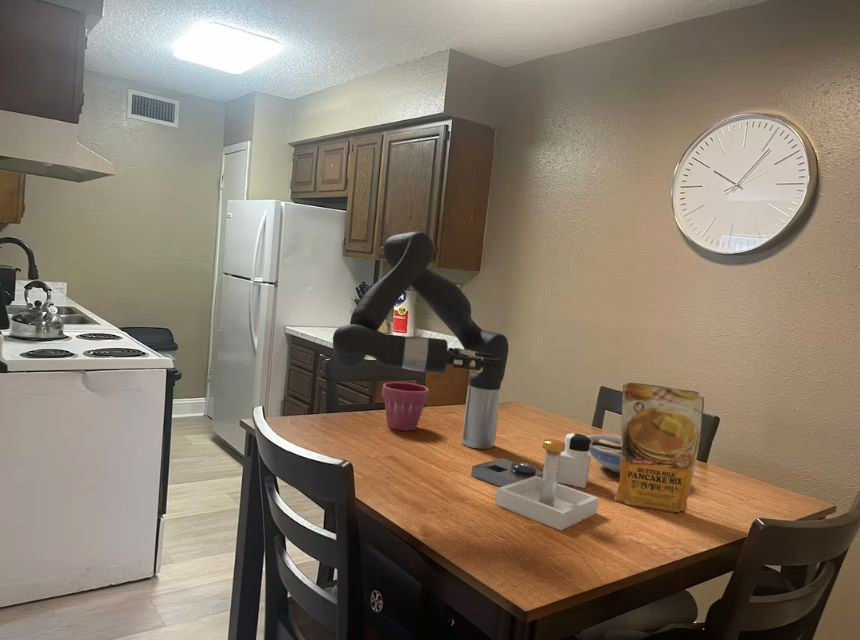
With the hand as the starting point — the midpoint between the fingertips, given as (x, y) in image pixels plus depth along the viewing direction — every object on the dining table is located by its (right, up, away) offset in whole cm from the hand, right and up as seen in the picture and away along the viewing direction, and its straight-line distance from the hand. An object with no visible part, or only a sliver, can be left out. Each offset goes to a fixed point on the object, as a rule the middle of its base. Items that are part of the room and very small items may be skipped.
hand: (496, 362), depth 136 cm
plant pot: (-24, -24, +54) cm, 63 cm away
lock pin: (+10, -31, -3) cm, 33 cm away
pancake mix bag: (+37, -34, +8) cm, 51 cm away
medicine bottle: (+21, -32, +19) cm, 42 cm away
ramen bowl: (+38, -33, +33) cm, 60 cm away
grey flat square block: (+4, -30, +15) cm, 33 cm away
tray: (+10, -32, -3) cm, 33 cm away
